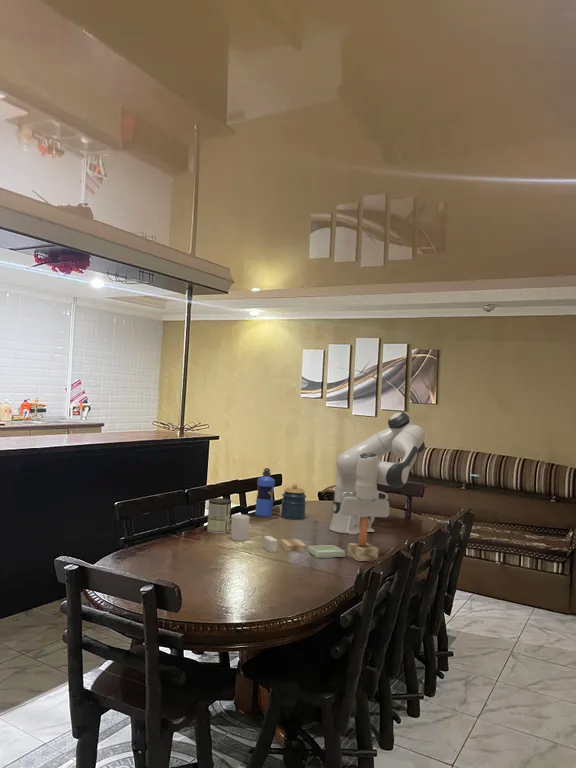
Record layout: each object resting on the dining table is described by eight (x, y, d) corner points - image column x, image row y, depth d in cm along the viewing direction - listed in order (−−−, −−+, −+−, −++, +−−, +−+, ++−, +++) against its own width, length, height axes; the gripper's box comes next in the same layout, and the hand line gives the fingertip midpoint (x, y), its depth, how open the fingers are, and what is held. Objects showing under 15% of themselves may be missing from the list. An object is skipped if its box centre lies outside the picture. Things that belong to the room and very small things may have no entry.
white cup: (251, 539, 254) (252, 516, 255) (242, 542, 247) (244, 518, 248) (235, 536, 258) (237, 513, 258) (226, 539, 251) (228, 516, 251)
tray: (333, 551, 243) (333, 545, 244) (344, 557, 234) (345, 551, 234) (307, 552, 239) (308, 545, 239) (318, 558, 230) (318, 552, 230)
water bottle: (274, 514, 313) (277, 468, 314) (269, 517, 304) (272, 469, 305) (258, 512, 316) (261, 466, 317) (252, 515, 307) (256, 468, 308)
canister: (282, 514, 316) (284, 481, 317) (306, 516, 315) (308, 483, 315) (278, 518, 304) (281, 484, 304) (303, 521, 302) (305, 487, 302)
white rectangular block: (269, 546, 243) (270, 536, 243) (276, 551, 236) (277, 540, 236) (263, 546, 242) (263, 536, 242) (269, 552, 235) (270, 540, 235)
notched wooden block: (298, 546, 249) (299, 539, 249) (305, 552, 239) (306, 545, 239) (280, 546, 247) (281, 539, 247) (287, 552, 237) (287, 545, 237)
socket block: (366, 554, 241) (367, 542, 241) (377, 561, 233) (378, 548, 233) (347, 555, 238) (348, 543, 238) (358, 561, 229) (359, 549, 229)
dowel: (363, 543, 237) (365, 516, 238) (367, 545, 234) (369, 518, 235) (356, 544, 236) (358, 516, 236) (361, 546, 233) (362, 518, 233)
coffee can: (204, 528, 269) (207, 497, 269) (226, 528, 272) (228, 498, 272) (208, 533, 259) (211, 502, 259) (231, 533, 262) (233, 502, 263)
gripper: (343, 493, 231) (340, 528, 231) (391, 495, 234) (389, 529, 234) (339, 490, 237) (336, 524, 237) (386, 492, 241) (384, 526, 240)
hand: (363, 527), depth 236 cm, fingers closed on dowel, 3 cm apart
